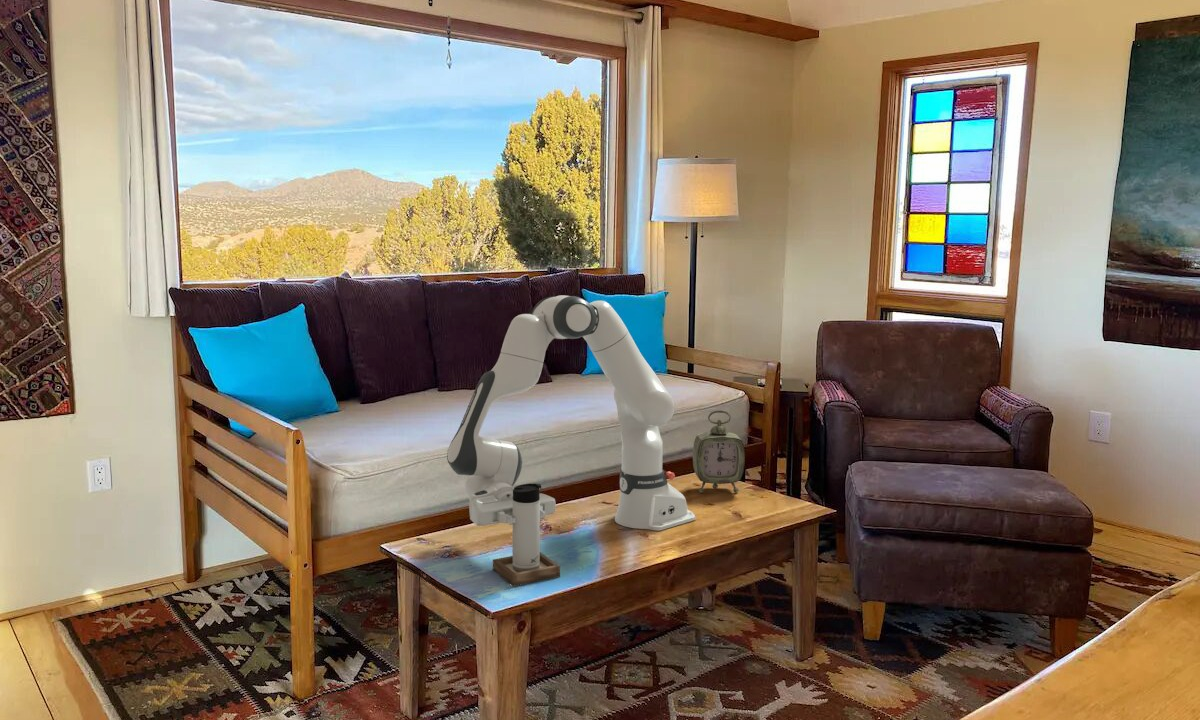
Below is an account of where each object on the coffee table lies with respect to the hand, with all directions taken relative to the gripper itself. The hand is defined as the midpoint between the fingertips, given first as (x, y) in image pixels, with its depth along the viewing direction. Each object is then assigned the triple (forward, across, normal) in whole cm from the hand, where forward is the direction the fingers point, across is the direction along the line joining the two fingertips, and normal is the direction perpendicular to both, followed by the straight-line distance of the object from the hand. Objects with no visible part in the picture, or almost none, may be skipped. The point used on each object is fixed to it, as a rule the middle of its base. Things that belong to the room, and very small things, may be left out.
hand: (527, 518), depth 213 cm
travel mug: (-1, 0, -12) cm, 13 cm away
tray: (-1, 0, -14) cm, 14 cm away
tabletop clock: (-33, -80, -14) cm, 88 cm away
